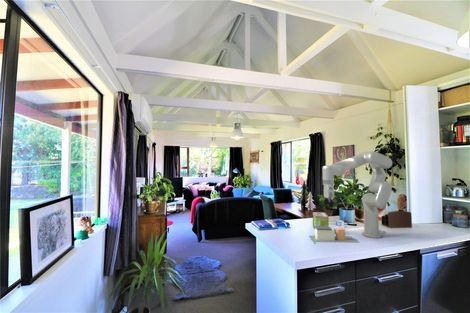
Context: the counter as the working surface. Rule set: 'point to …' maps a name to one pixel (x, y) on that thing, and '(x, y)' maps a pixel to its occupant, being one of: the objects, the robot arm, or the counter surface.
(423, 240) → the counter surface
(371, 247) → the counter surface
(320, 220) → the tea box
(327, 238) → the ticket board
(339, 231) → the stub
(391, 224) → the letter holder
